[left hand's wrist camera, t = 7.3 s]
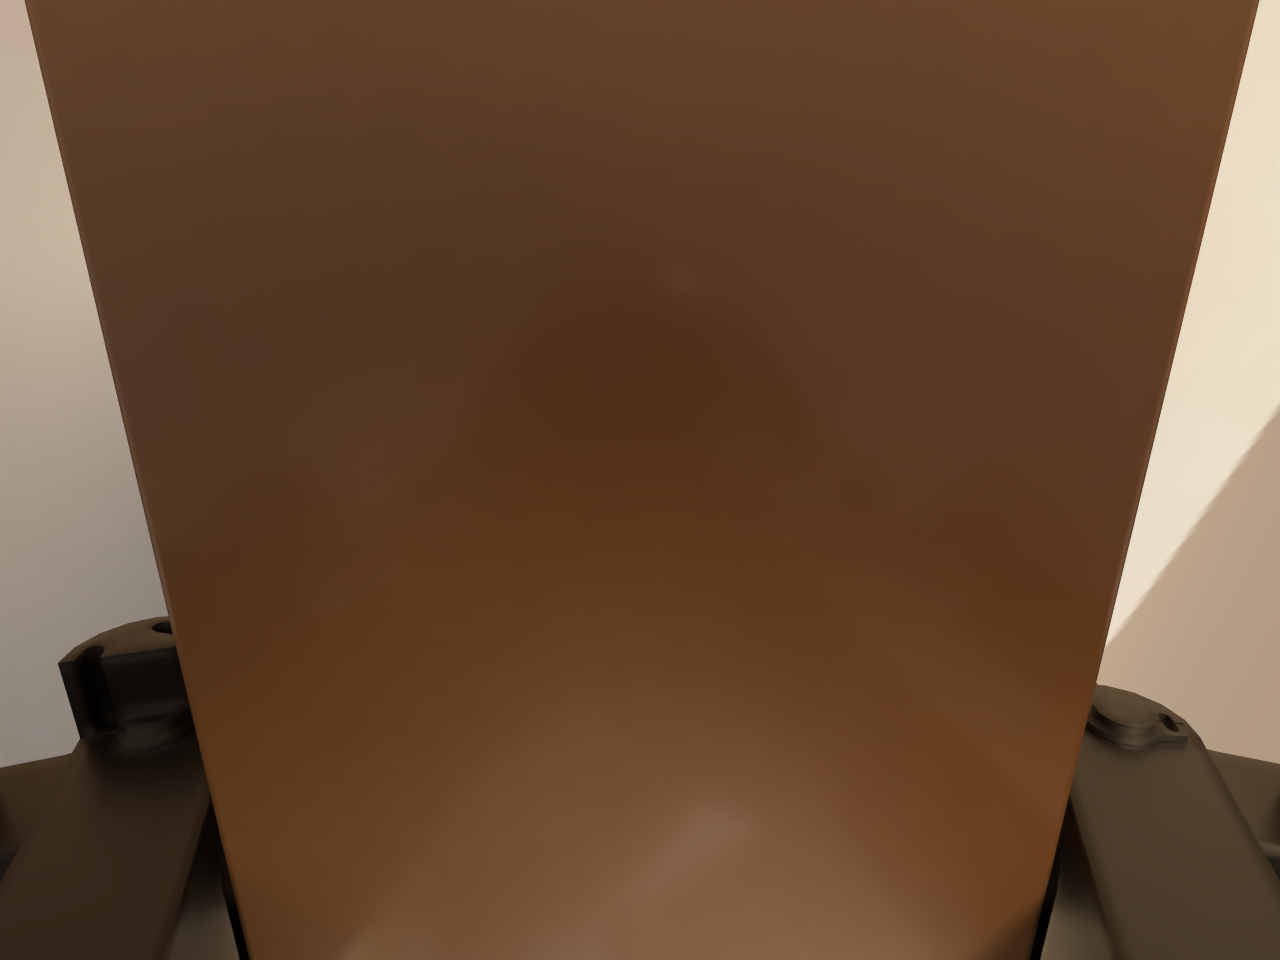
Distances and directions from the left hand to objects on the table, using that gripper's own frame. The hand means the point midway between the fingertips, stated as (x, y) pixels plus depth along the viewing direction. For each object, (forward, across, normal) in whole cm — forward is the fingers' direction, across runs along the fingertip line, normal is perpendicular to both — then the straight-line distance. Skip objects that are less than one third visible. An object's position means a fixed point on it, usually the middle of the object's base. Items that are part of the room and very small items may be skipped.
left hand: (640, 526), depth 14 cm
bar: (0, 0, -9) cm, 9 cm away
